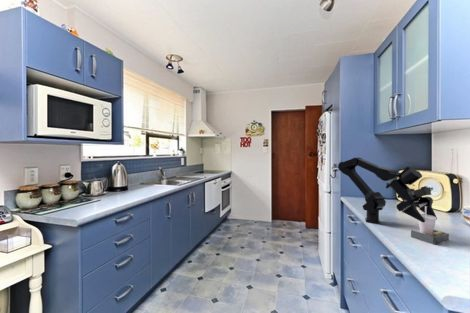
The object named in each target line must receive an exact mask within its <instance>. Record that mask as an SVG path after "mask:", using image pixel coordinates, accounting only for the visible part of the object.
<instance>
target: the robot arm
mask: <svg viewBox="0 0 470 313" xmlns="http://www.w3.org/2000/svg"><path fill="white" fill-rule="evenodd" d="M356 167H360V168H362V169H364V170H367V171H368V172H371V173H373V174H374V175H375V176H376V177H377V178H379V179H380V180H381V181H383V182H386V184H385V185H386V186H385V189H392V190H393V192H395V193H396V197H397V198H398V199H400V200H402V201H400V202H399V203H397V204H396V209H397V210H398V212H401V213H403V214H405V215H408V216H410V217H411V218H414V219H415V220H417V221H418V222H419V221H421V222H425V220H424V218H423V217H422V216H421V214H422V213H423V214H425V206H427V210H426V215H432V216H435V217H437V215H436V214H435V211H434V209H433V203H434V199H433V198H432V197H431V195H432V189H431V188H430V187H428V186H426V185H425V186H421V187H420V188H419V189H415V188H410V187H409V186H408V185H410V186H412V185H413V184H414V183H416V182H417V181H419V180H420V179H421V178H423V174H422V173H421V172H420V171H419V170H417V169H415V168H413V167H411V166H406V167H405V168H404V169H403V170H402V171H401V172H399V171H397V170H396V169H393V168H390V167H385V166H379V165H377V164H375V163H373V162H370V161H368V160H366V159H364V158H361V157H357V156H356V157H353V158H351V159H348V160H345V161H339V163H338V166H337V169H338V170H339V171H340V172H341V173H342V174H344V175H346V176H347V177H348V178H349V179H350V180H351V181H352V183H353V184H354V185H355V186H356V187H357V188H358V190H359V191H360V192H361V193H362V194H363V196H364V200H365V203H364V204H363V205H362V209H363V211H366V213H365V214H366V217H365V222H366V223H373V224H378V225H379V224H381V220H380V211H382V210H383V209H384V207H385V206H386V202H387V200H385V196H383V195H382V194H381V192H380V191H374V190H373V189H372V188H370V186H369V185H368V184H367V183H366V181H365V180H364V179H363V178H362V177H361V176H360V174H358V172H357V171H356V170H357V169H356ZM389 181H390V182H389ZM417 208H418V209H417ZM419 210H420V211H421V212H422V213H420V212H419Z"/></svg>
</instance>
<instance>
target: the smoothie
mask: <svg viewBox="0 0 470 313" xmlns="http://www.w3.org/2000/svg"><path fill="white" fill-rule="evenodd" d="M426 210H427V206H425V213H420V214H421V216H422V217H423V218H424V220H425V222H421V221H419V220H418V225H419V232H421V233H424V234H427V235H431V236H433V231H434V230H435V227H436V226H435V225H436V221H437V220H438V217H437V216H436V217H435V216H432V215H427V214H426Z"/></svg>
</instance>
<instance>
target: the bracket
mask: <svg viewBox="0 0 470 313" xmlns="http://www.w3.org/2000/svg"><path fill="white" fill-rule="evenodd" d="M449 237H450V234H449V233H447V232H444V231H442V230H437V229H436V230H435V229H434V231H433V236H431V235H427V234H424V233H421V232H420V231H418V230H417V231H416V230H413V229H411V230H410V238H413V239H417V240H420V241H422V242H426V243H429V244H432V245H435V246H437V245H439V244H443V243H447V242H449V239H450V238H449Z"/></svg>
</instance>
